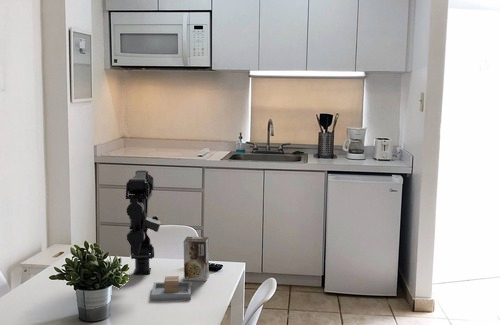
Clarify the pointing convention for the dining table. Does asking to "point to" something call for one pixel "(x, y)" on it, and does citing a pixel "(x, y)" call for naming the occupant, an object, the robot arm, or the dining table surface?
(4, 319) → the dining table surface
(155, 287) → the grey tray
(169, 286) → the walnut block
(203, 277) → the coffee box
